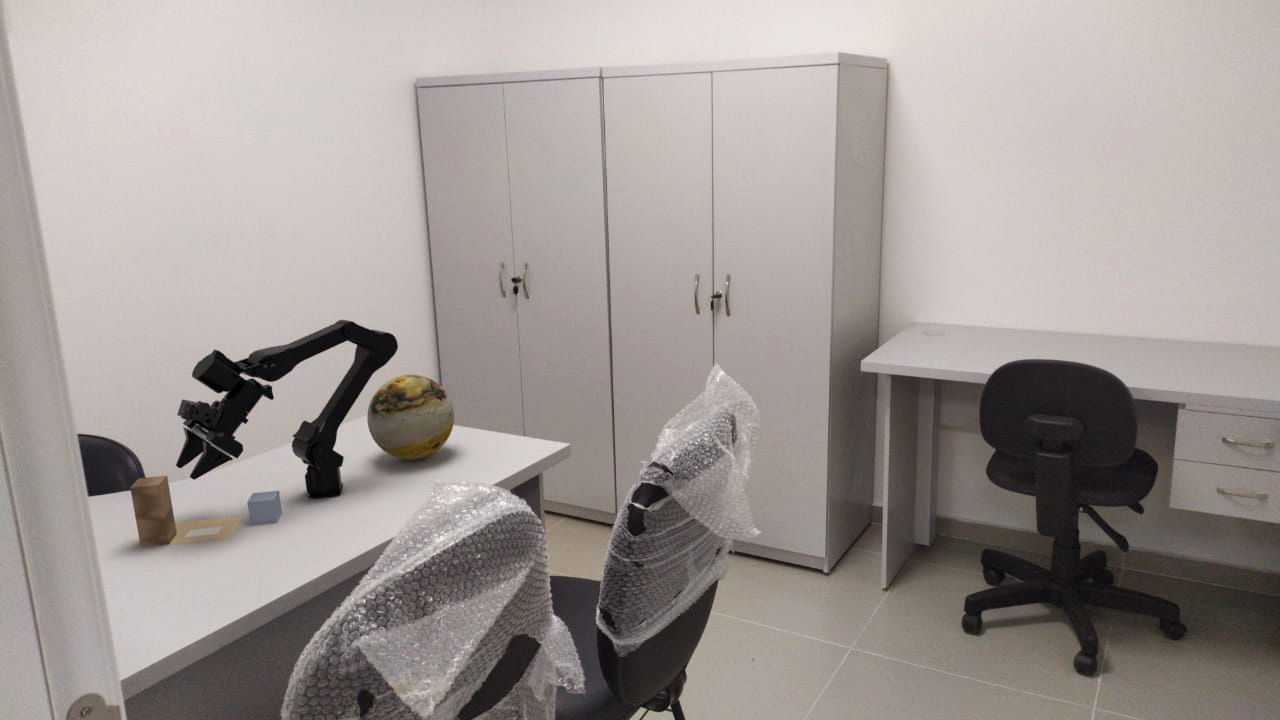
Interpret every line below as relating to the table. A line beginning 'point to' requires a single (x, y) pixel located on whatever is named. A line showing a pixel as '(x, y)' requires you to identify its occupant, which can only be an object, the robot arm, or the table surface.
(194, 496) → the table surface
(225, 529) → the kraft envelope
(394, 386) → the decorative sphere
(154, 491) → the walnut block
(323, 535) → the table surface
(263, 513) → the slate-blue cube
